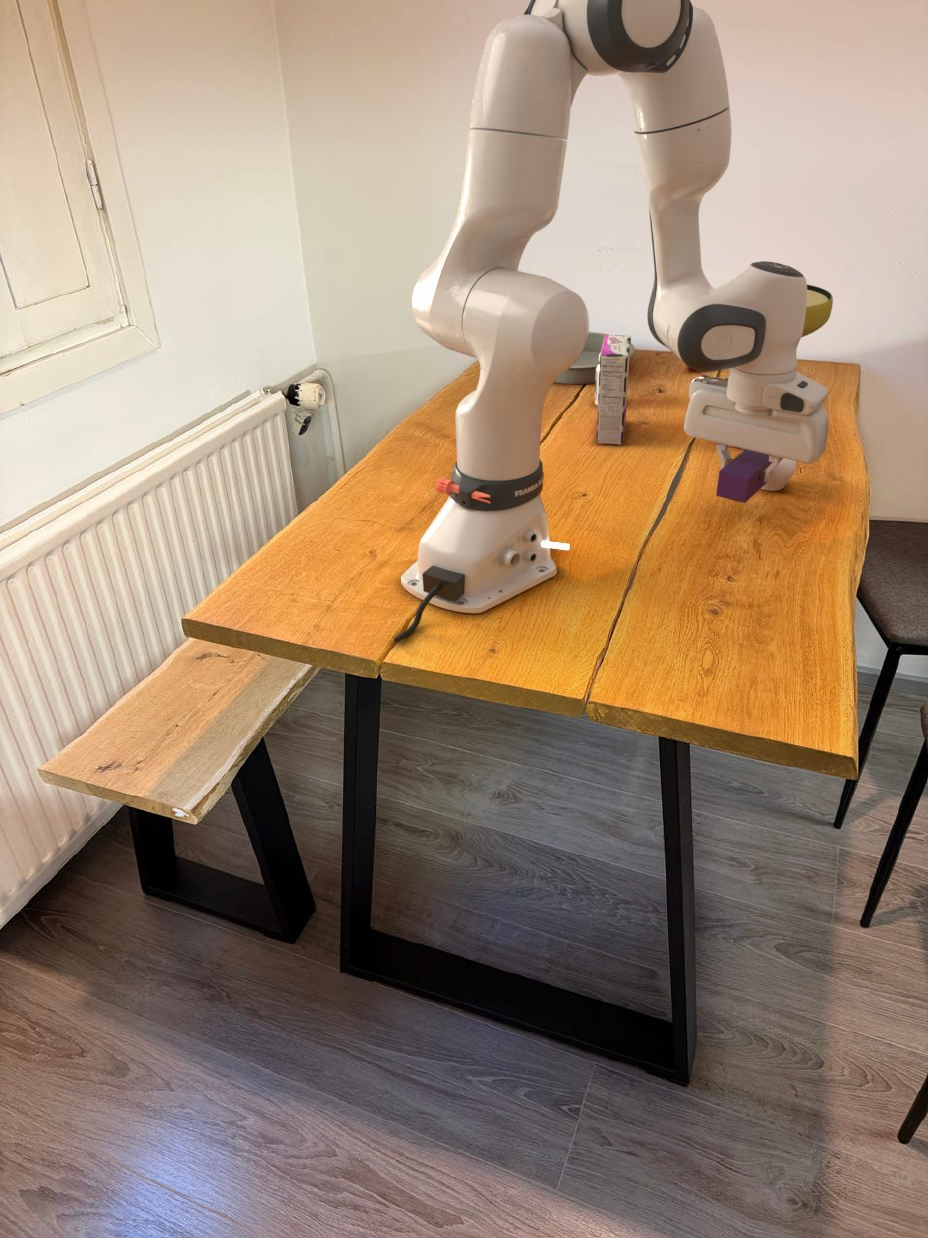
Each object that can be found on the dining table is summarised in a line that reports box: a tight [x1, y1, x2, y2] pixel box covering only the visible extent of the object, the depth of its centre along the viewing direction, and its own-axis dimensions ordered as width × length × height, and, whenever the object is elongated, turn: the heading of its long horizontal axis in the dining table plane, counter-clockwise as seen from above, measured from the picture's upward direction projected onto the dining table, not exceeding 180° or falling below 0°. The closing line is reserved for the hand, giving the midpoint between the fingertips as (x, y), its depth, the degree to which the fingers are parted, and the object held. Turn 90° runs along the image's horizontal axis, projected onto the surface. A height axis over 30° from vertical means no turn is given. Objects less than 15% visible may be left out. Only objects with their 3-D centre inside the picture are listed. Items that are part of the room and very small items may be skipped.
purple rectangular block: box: [715, 449, 773, 504], centre depth 132 cm, size 10×4×4 cm, turn 142°
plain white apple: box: [760, 458, 797, 492], centre depth 140 cm, size 7×7×8 cm
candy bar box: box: [595, 334, 632, 446], centre depth 158 cm, size 11×5×16 cm, turn 168°
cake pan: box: [553, 331, 636, 385], centre depth 192 cm, size 25×25×4 cm
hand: (746, 475), depth 132 cm, fingers closed on purple rectangular block, 4 cm apart
